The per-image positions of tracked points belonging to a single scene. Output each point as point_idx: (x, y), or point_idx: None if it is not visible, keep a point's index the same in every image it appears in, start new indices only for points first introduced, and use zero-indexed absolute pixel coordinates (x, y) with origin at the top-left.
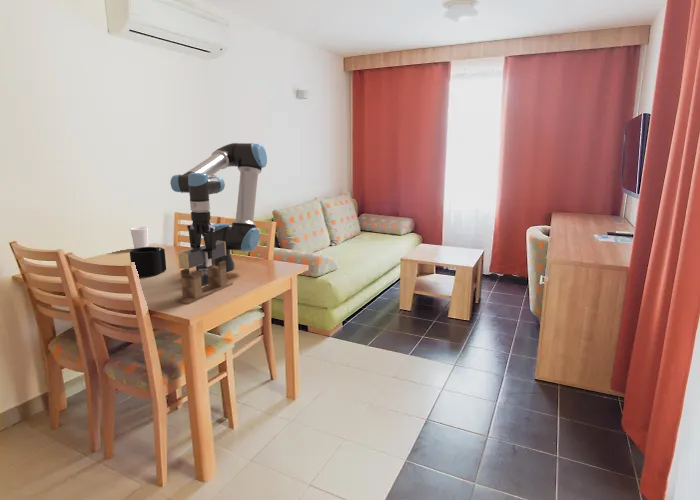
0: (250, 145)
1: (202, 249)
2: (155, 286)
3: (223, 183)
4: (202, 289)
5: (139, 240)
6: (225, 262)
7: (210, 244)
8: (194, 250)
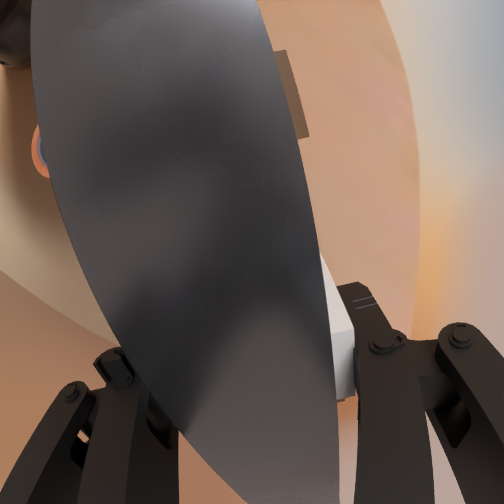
0: None
1: (338, 455)
2: (63, 293)
3: None
4: None
5: None
6: (286, 58)
7: (465, 458)
8: (295, 489)
